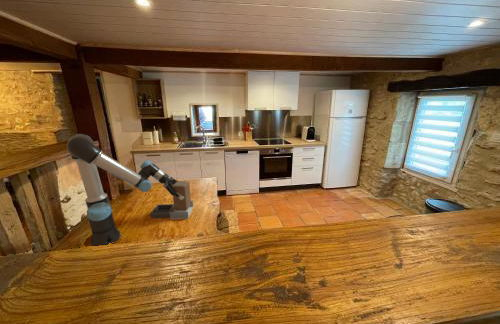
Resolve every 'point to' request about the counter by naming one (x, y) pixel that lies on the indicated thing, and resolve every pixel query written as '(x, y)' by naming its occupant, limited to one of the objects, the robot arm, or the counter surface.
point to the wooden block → (184, 190)
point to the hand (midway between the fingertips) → (185, 195)
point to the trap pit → (162, 211)
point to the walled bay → (181, 213)
